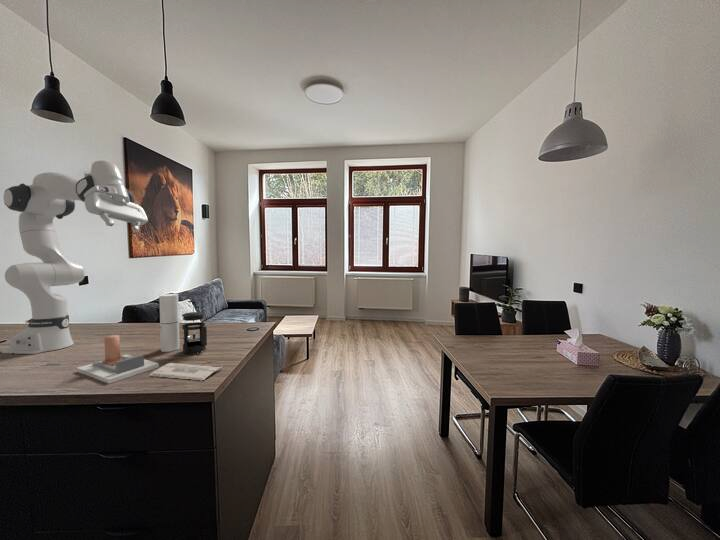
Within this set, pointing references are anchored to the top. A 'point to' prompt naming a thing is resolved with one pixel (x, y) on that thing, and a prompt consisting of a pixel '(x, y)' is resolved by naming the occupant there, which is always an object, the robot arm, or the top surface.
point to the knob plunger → (112, 350)
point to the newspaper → (184, 371)
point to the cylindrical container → (169, 322)
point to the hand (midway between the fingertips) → (124, 228)
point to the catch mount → (118, 368)
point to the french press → (194, 345)
